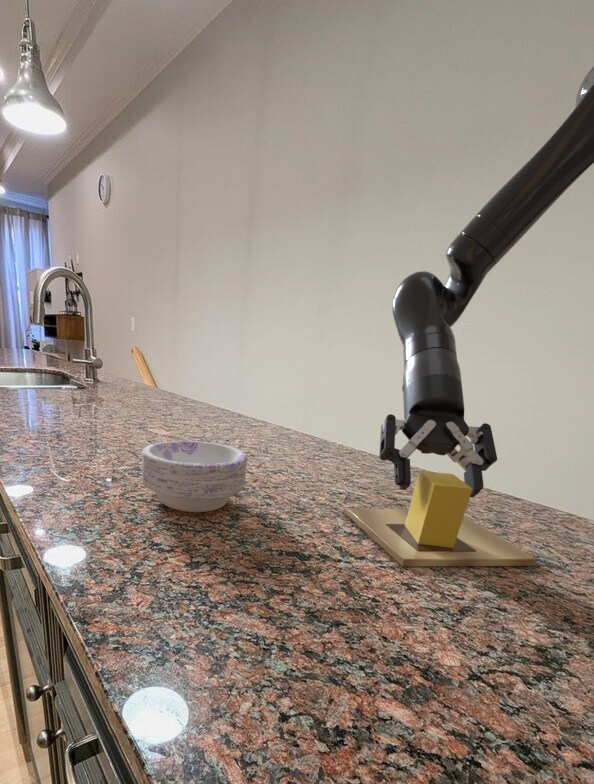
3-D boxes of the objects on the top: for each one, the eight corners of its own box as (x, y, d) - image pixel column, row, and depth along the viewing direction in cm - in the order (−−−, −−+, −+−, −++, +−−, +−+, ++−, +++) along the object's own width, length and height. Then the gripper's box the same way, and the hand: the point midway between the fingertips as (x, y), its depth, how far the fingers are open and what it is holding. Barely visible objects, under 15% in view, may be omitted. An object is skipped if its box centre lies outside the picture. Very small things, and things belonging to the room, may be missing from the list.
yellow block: (437, 529, 62) (453, 473, 59) (453, 548, 56) (472, 488, 53) (404, 525, 62) (418, 470, 59) (417, 544, 56) (434, 484, 53)
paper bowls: (183, 479, 77) (186, 433, 74) (260, 502, 69) (266, 452, 66) (119, 501, 66) (119, 448, 63) (202, 532, 58) (207, 473, 55)
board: (452, 515, 70) (454, 509, 70) (534, 566, 56) (537, 558, 55) (345, 514, 67) (347, 507, 67) (402, 566, 53) (404, 558, 52)
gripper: (389, 367, 61) (392, 471, 55) (498, 376, 60) (514, 484, 54) (373, 401, 68) (373, 497, 62) (470, 410, 67) (480, 509, 60)
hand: (439, 491), depth 58 cm, fingers open, 8 cm apart
